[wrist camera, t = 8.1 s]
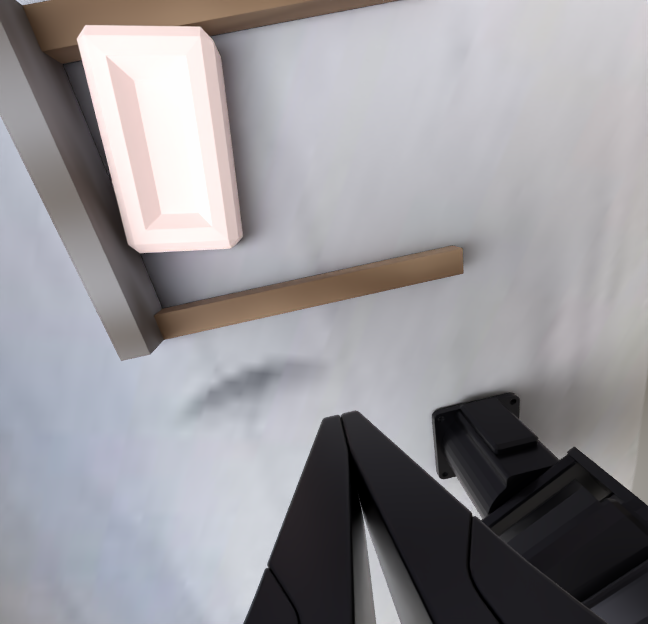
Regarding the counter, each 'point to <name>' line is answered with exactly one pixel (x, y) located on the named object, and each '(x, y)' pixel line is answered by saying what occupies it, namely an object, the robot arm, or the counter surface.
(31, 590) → the counter surface
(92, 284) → the guide channel
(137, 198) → the soap bar
